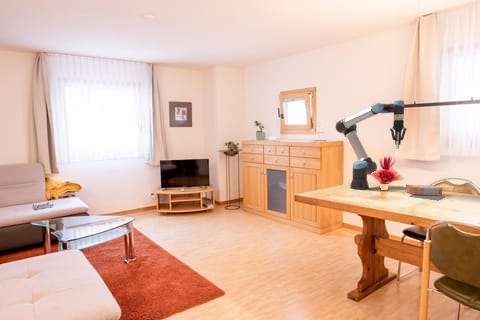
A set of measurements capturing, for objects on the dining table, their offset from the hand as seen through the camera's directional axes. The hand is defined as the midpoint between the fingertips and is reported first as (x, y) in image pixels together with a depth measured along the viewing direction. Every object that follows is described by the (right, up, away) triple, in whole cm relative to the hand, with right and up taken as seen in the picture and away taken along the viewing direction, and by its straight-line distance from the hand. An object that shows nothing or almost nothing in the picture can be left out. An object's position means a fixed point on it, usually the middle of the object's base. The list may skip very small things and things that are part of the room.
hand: (397, 148), depth 259 cm
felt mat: (+10, -37, -24) cm, 45 cm away
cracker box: (+2, -32, -14) cm, 35 cm away
